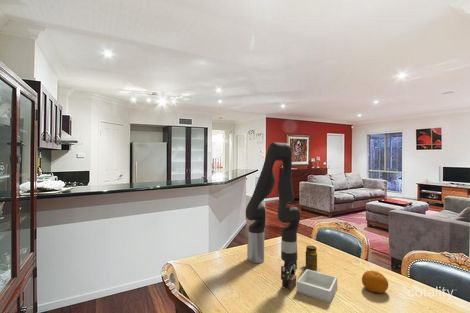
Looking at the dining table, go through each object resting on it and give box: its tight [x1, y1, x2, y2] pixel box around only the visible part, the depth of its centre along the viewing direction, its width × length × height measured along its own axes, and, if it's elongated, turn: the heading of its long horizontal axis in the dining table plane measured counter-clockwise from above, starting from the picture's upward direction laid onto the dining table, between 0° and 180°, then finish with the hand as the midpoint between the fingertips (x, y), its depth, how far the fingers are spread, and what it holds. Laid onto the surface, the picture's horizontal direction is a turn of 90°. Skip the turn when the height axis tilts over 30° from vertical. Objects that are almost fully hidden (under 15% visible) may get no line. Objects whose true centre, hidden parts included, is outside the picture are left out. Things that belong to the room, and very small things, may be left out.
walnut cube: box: [281, 274, 297, 291], centre depth 114 cm, size 5×5×5 cm
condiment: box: [299, 245, 321, 272], centre depth 132 cm, size 7×8×12 cm
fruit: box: [361, 270, 389, 294], centre depth 111 cm, size 10×10×8 cm
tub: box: [296, 269, 338, 304], centre depth 111 cm, size 14×14×5 cm
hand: (289, 283), depth 114 cm, fingers open, 8 cm apart
